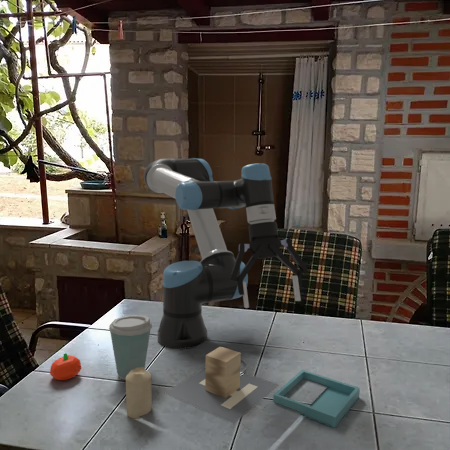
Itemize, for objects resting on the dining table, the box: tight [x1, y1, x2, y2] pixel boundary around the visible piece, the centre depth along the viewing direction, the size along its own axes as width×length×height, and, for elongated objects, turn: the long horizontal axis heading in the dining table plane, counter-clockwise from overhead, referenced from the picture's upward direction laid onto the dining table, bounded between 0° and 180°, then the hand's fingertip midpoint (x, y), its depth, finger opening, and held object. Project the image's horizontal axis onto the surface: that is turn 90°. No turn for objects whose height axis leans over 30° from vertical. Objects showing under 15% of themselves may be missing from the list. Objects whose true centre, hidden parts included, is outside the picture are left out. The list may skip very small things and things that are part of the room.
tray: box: [272, 369, 361, 429], centre depth 109 cm, size 15×15×2 cm
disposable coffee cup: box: [108, 314, 153, 381], centre depth 119 cm, size 11×11×15 cm
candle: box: [125, 368, 153, 420], centre depth 103 cm, size 6×6×10 cm
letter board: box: [163, 367, 280, 424], centre depth 113 cm, size 20×20×1 cm
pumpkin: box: [49, 352, 82, 381], centre depth 118 cm, size 7×8×6 cm
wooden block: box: [204, 346, 242, 398], centre depth 112 cm, size 6×6×9 cm
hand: (272, 304), depth 120 cm, fingers open, 13 cm apart
